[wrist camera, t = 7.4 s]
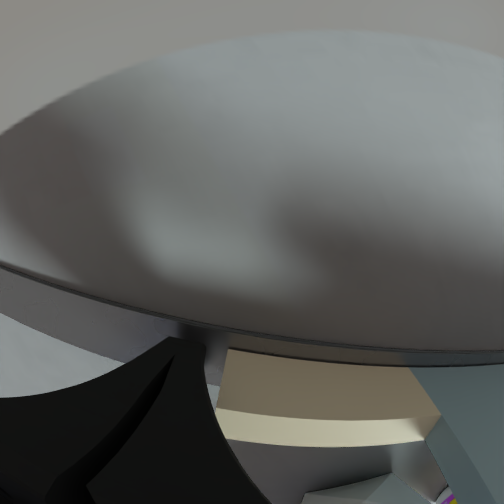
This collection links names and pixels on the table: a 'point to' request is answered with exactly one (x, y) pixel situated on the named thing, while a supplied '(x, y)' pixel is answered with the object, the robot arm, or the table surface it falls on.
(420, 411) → the cleaver
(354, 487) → the die
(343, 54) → the table surface
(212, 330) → the sill
